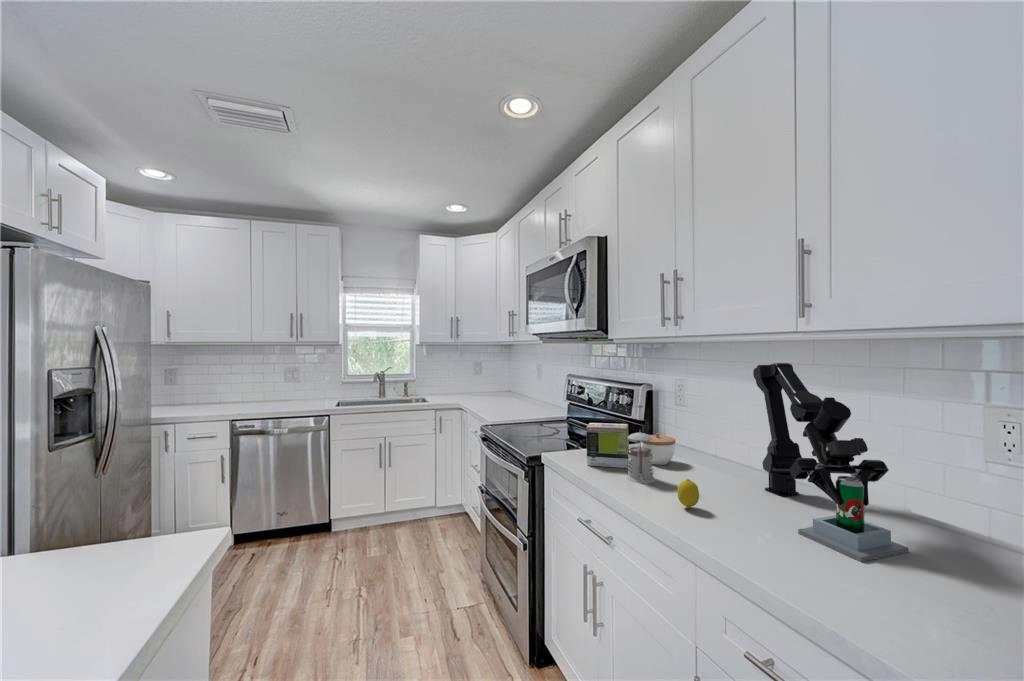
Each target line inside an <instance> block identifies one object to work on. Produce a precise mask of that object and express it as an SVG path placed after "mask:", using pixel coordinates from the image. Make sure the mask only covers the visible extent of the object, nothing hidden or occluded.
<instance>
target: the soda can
mask: <svg viewBox="0 0 1024 681" xmlns="http://www.w3.org/2000/svg"><path fill="white" fill-rule="evenodd" d="M835 488H836V490H837V492H838V494H839V496H840V499H841V502H842V503H841V505H838V504H837V503H836V502H835V515H836V526H837V527H840V528H842V529H845V530H847V531H850V532H852V533H855V534H858V533H863V532H864V521H865V505H864V485H863V484H862V480H860V479H858V478H855V477H851V475H849V476H848V475H839V476H837V479H836V480H835Z"/></svg>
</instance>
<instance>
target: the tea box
mask: <svg viewBox="0 0 1024 681" xmlns="http://www.w3.org/2000/svg"><path fill="white" fill-rule="evenodd" d="M585 429H586V431H585V432H586V436H585V438H586V465H587V466H591V467H605V468H623V469H628V467H629V465H628V463H629V464H630V462H629V461H628V459H629V460H630V458H628V453H629V452H630V450H629V449H630V445H629V441H630V440H629V439H628V436H629V424H628V423H611V422H609V423H607V422H606V423H604V422H589V423H588V425H587V426H586V427H585Z"/></svg>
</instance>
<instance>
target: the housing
mask: <svg viewBox="0 0 1024 681" xmlns="http://www.w3.org/2000/svg"><path fill="white" fill-rule="evenodd" d="M891 532H892V531H891V530H890V529H887V528H884V527H881V526H878V525H876V524H873V523H871V522H869V521H865V520H864V532H863V533H858V534H855V533H852V532H850V531H847V530H845V529H842V528H840V527H837V526H836V514H834V515H828V516H822V517H814V518H812V526H810V527H805V528H804V527H803V528H798V529H797V533H798V535H800V536H802V535H803V537H804V538H807V539H809V538H810V539H809V540H811V539H812V540H811V541H813V540H814V542H816V541H817V542H816V543H818V542H819V544H820V543H821V544H820V545H822V544H823V546H824V545H825V547H827V548H830V549H831V550H834V551H836V552H837V553H840V554H843V555H844V556H847V557H849V558H851V559H853V560H855V559H856V561H857V560H858V561H857V562H859V563H860V562H861V561H864V562H868V561H867V560H869V561H872V559H874V560H877V559H876V558H878V559H882V558H881V557H883V558H887V557H886V556H888V557H891V556H890V555H893V556H896V555H895V554H898V555H902V554H901V553H903V554H907V553H909V552H910V551H909V549H910V548H909V547H908V546H905V545H903V544H900V543H898V542H896V541H892V537H891V536H892V533H891ZM906 552H907V553H906ZM861 563H862V562H861Z"/></svg>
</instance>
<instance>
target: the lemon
mask: <svg viewBox="0 0 1024 681" xmlns="http://www.w3.org/2000/svg"><path fill="white" fill-rule="evenodd" d="M676 493H677V494H676V495H677V499H678V501H679V502H680V504H682V505H683V506H685V508H686V509H690V508H692V507H695V506H696V505H697V504H698V503H699V499H700V490H699V487H698V485H697V484H696V483H695V482H694V481H693V480H690V479H689V478H686V479H684V480H682V481H681V482H680V483H679V484H678V487H677V492H676Z"/></svg>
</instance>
